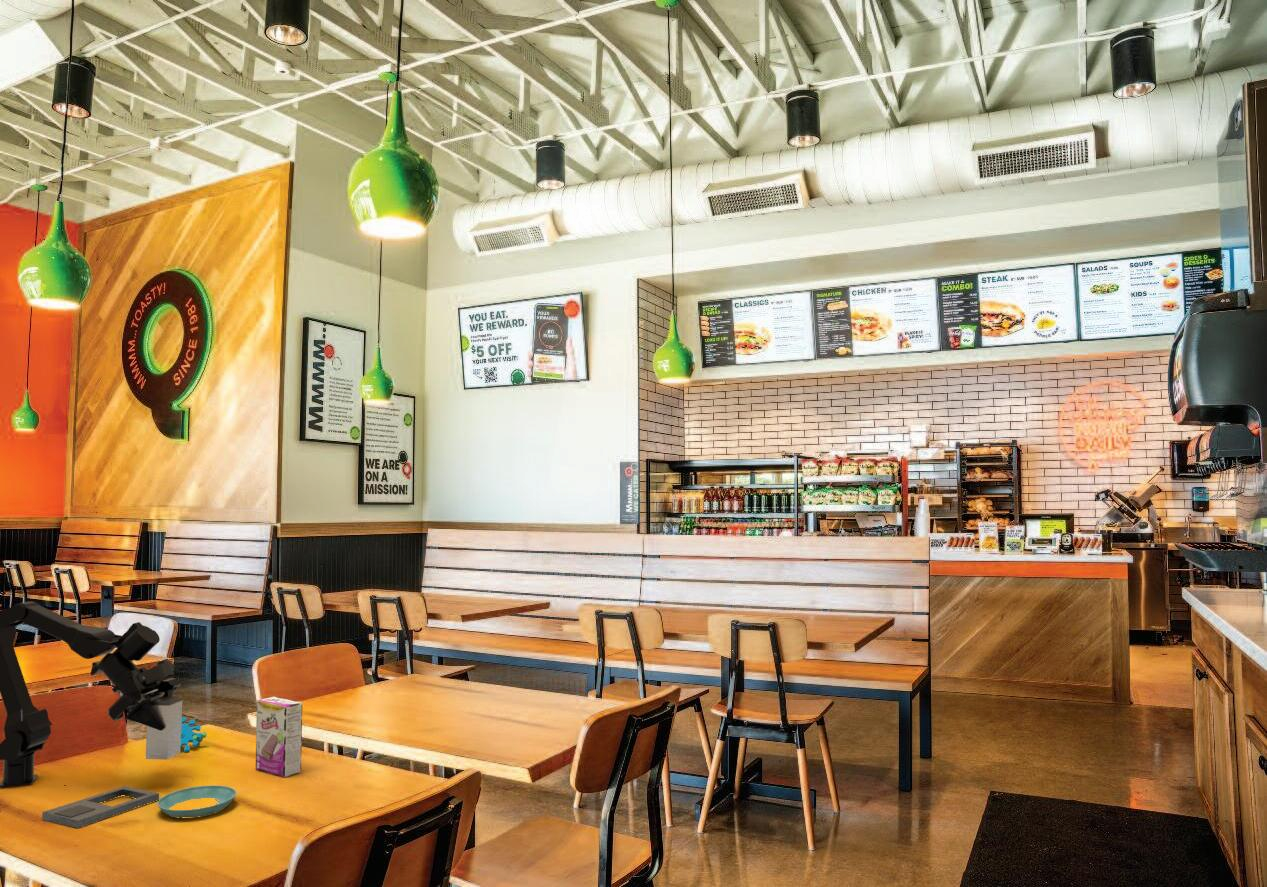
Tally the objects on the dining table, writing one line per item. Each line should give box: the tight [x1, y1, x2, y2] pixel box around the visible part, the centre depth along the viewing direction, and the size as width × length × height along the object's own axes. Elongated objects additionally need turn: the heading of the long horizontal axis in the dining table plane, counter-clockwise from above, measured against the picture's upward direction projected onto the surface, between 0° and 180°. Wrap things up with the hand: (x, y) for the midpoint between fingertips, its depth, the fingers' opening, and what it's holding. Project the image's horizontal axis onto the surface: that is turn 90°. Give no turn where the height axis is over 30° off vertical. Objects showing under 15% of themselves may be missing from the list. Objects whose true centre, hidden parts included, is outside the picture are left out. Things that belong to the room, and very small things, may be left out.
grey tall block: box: [145, 696, 183, 760], centre depth 198 cm, size 5×5×12 cm
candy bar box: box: [255, 696, 303, 778], centre depth 208 cm, size 11×5×16 cm, turn 58°
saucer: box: [156, 785, 238, 819], centre depth 183 cm, size 15×15×3 cm
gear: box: [181, 716, 208, 753], centre depth 227 cm, size 11×6×10 cm
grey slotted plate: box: [41, 785, 160, 829], centre depth 182 cm, size 11×18×2 cm, turn 155°
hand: (170, 725), depth 198 cm, fingers closed on grey tall block, 5 cm apart
